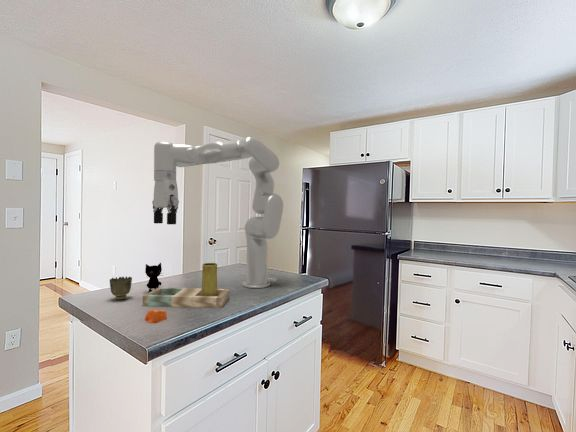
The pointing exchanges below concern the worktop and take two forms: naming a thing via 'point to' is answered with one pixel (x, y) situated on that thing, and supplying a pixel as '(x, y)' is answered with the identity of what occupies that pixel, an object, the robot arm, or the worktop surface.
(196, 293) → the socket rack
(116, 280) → the cup
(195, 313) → the worktop surface
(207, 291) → the vase
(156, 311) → the rock
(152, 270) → the cat figurine
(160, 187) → the robot arm
